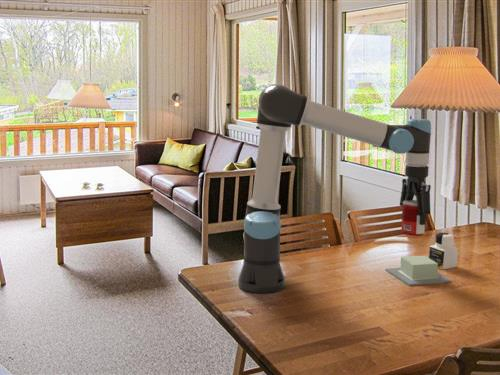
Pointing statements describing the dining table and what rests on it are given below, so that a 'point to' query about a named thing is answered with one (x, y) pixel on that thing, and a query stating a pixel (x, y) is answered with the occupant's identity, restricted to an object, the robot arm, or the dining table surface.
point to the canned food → (410, 218)
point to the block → (419, 267)
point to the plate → (410, 282)
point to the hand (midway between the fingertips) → (413, 230)
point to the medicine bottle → (444, 251)
